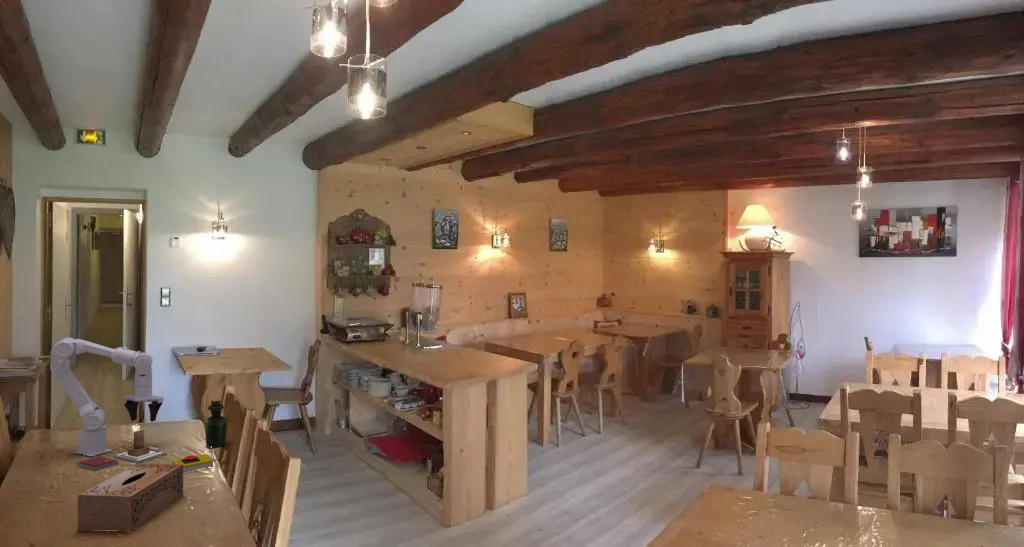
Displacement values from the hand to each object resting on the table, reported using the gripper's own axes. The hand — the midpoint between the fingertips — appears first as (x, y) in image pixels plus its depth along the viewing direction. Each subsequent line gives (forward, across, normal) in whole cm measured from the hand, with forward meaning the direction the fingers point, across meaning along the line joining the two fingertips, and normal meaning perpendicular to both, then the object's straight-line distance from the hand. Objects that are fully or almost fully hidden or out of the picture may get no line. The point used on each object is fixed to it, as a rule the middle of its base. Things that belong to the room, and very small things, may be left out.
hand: (143, 420), depth 240 cm
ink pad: (+10, -3, -20) cm, 23 cm away
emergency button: (+11, +31, -18) cm, 37 cm away
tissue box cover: (+11, +35, -56) cm, 67 cm away
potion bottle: (+11, +26, +6) cm, 28 cm away
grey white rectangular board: (+10, +5, -9) cm, 15 cm away
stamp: (+10, +5, -10) cm, 15 cm away
